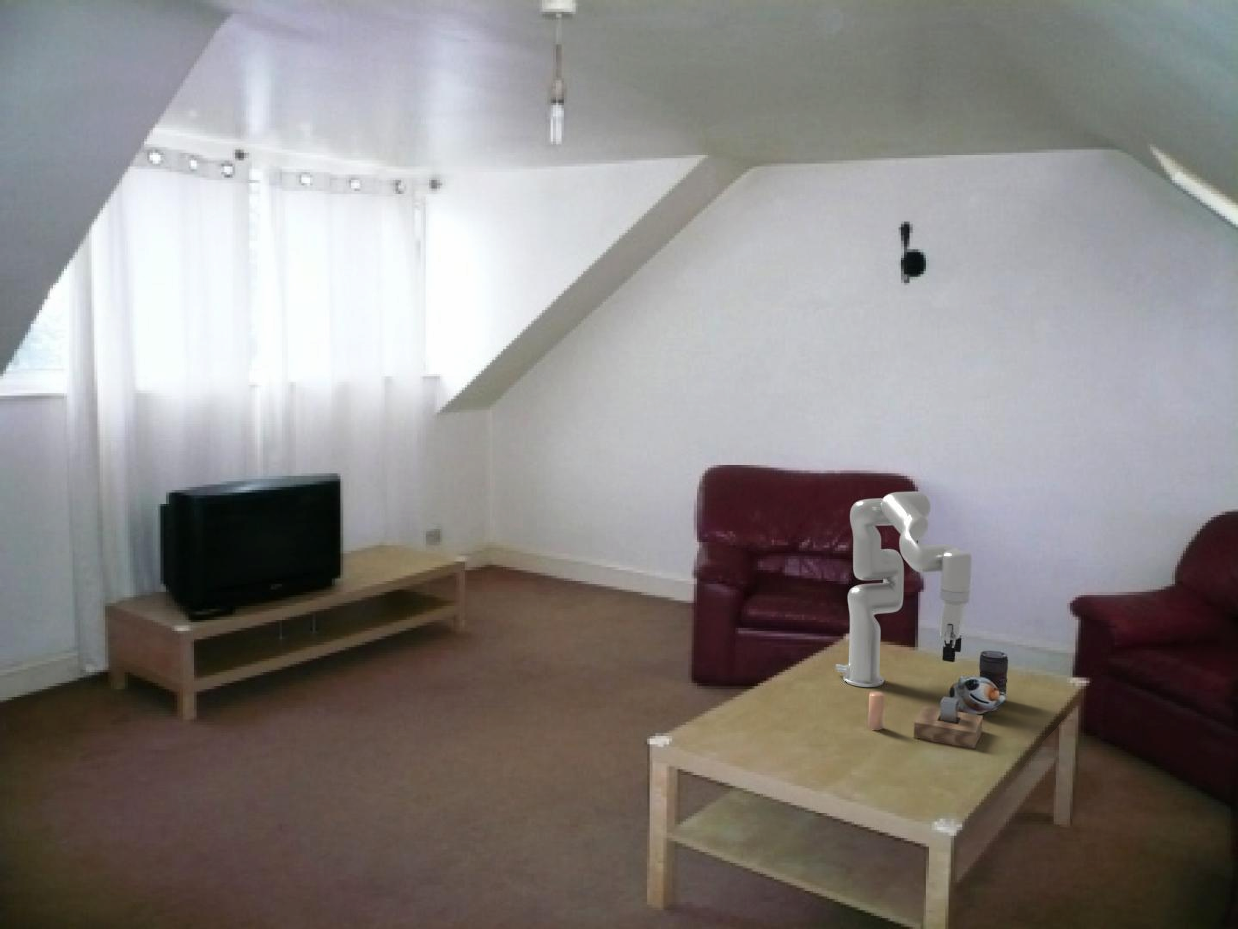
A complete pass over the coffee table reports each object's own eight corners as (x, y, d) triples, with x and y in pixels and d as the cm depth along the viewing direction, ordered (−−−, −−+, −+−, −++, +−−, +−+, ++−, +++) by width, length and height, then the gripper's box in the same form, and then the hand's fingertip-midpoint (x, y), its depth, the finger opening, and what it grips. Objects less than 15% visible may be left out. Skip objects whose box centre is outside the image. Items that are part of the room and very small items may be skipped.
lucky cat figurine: (1000, 705, 309) (1014, 673, 301) (992, 732, 300) (1006, 700, 292) (951, 685, 314) (964, 653, 306) (941, 711, 305) (954, 679, 297)
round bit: (866, 729, 290) (867, 695, 289) (870, 724, 293) (871, 690, 292) (880, 732, 288) (881, 697, 287) (884, 727, 291) (885, 693, 290)
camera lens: (1001, 697, 316) (1004, 650, 314) (1008, 706, 308) (1011, 658, 306) (974, 696, 317) (977, 649, 315) (981, 705, 309) (983, 657, 307)
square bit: (939, 735, 286) (940, 701, 284) (942, 730, 289) (943, 696, 288) (954, 738, 284) (955, 703, 283) (957, 733, 287) (958, 699, 286)
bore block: (913, 738, 284) (914, 722, 283) (923, 721, 296) (924, 706, 296) (974, 749, 277) (975, 732, 276) (982, 731, 289) (982, 715, 288)
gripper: (946, 587, 291) (943, 645, 293) (934, 601, 276) (931, 663, 278) (974, 590, 287) (970, 649, 290) (964, 605, 272) (960, 667, 274)
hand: (951, 656), depth 284 cm, fingers open, 9 cm apart
